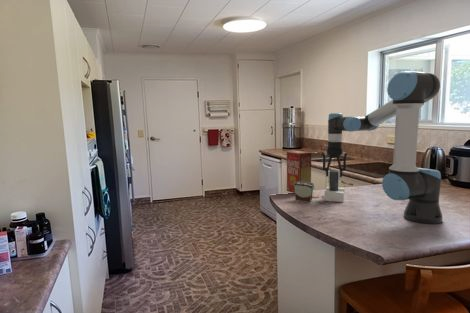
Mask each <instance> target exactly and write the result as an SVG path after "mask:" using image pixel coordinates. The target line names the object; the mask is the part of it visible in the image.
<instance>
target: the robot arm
mask: <svg viewBox="0 0 470 313" xmlns="http://www.w3.org/2000/svg"><path fill="white" fill-rule="evenodd" d="M386 88H387V89H386V91H387V94H388V96H389V98H390V99H391V100H390V101H388V102H387V103H385V104H383V105H382V106H380V107H378V108H376V109H375V110H373V111H372V112H370V113H368V114H367V115H364V116H343V113H341V112H339V113H338V112H336V113H332V112H331V113H329V114H328V120H327V141H328V142H327V150H326V151H323V152H322V169H323V170H324V171H325V176H326V177H327V183H328V184H329V181H330V171H331V170H330V166H331V162H332V160H333V159H336V161H337V164H338V169H339V170H337V171H338V184H340V183H341V182H340V181H341V178H342V177H343V172H344V171H346V170H347V169H346V168H347V167H346V166H347V164H346V163H347V156H348V152H345V151H343V142H342V141H343V132H360V131H362V132H363V131H369V132H370V131H375V130H377V129H378V127H379V126H380V125H381V124H383V123H385V122H386V121H389V120H390V119H392V118H394V117H395V123H394V124H395V126H394V127H395V128H394V144H393V157H392V158H393V159H392V160H393V161H392V165H390V166H389V167H388V174H386V175H384V176H383V178H382V181H381V186H382V190H383V192H384V193H385V195H386V196H387V197H388V198H390V199H392V200H394V201H406V200H408V201H407V204H406V207H405V209H404V211H403V217H404V218H405V219H406V220H408V221H412V222H415V223H422V224H427V225H429V224H430V225H431V224H432V225H435V224H440V223H443V213H442V210H441V207H440V193H441V181H442V175H441V174H442V173H441V172H440V171H439V170H438V169H431V168H425V167H423V168H422V167H417V165H416V163H417V150H418V148H417V147H418V137H419V136H418V135H419V123H420V122H419V121H420V120H419V118H420V109H421V108H422V107H423V106H424V105H425V103H427V102H429V101H430V100H432V99H433V98H435V97H436V96H437V95H438V93H440V89H441V81H440V78H439V77H438V76H437V75H435V74H434V73H432V72H429V71H427V72H425V71H424V72H423V71H414V70H407V71H400V72H397V73H395V74H394V75H393V77H392V78H391V79H390V80H389V82H388V83H387V87H386ZM327 155H328V156H329V157H328V163H326V160H327V159H326V158H327ZM341 155H342V156H343V160H342V161H343V163H341V159H340V157H341Z"/></svg>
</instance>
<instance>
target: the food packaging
mask: <svg viewBox="0 0 470 313" xmlns="http://www.w3.org/2000/svg"><path fill="white" fill-rule="evenodd" d="M300 181H302V182H311V183H312V152H311V151H310V152H309V151H302V150H291V151H290V150H289V151H286V192H290V193H293V194H295V189H294V186H293V184H294V182H300Z"/></svg>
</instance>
